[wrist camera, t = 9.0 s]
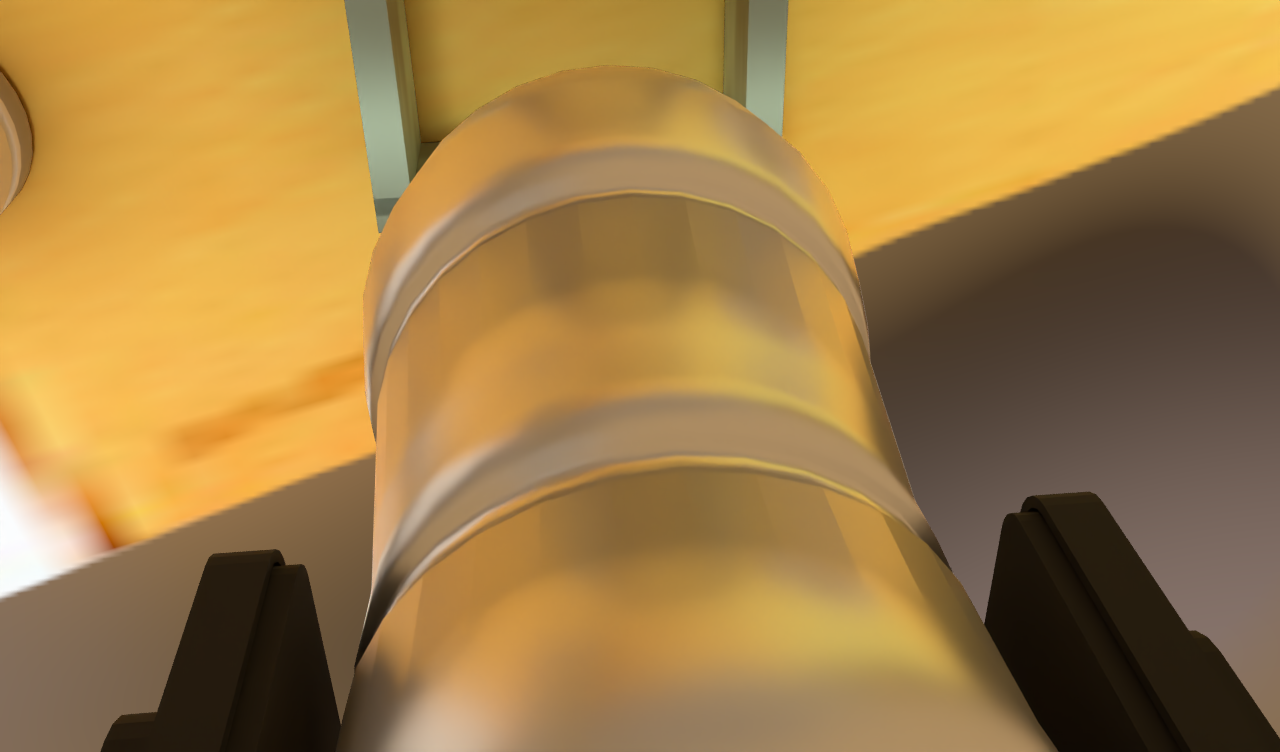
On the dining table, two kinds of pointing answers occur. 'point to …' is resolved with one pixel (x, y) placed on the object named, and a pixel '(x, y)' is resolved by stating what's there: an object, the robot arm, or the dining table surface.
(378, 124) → the dock
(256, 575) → the robot arm
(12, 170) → the travel mug
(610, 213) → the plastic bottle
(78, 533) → the dining table surface
